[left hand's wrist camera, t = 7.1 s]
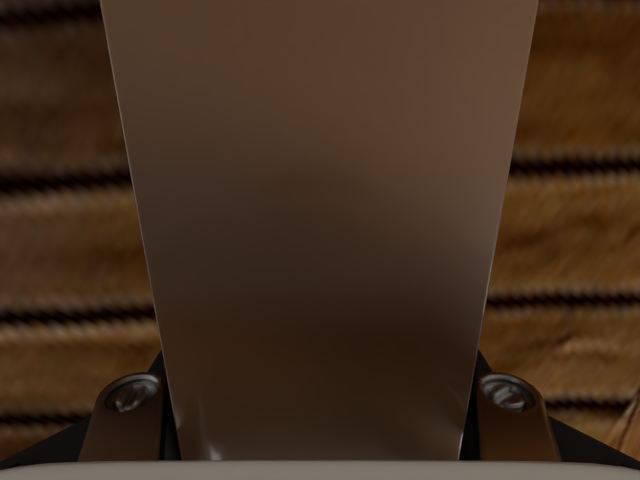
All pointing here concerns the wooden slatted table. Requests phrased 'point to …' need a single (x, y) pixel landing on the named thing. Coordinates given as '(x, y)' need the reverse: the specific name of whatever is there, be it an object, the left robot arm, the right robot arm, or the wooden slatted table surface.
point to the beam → (319, 212)
